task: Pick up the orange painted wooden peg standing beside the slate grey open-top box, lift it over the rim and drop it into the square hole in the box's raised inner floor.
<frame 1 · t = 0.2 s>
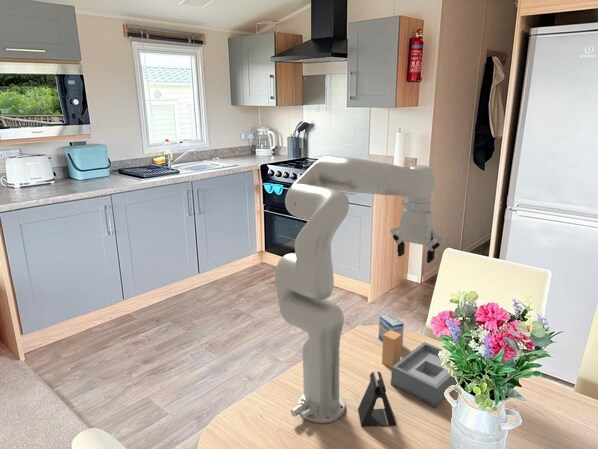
hand: (415, 258, 138), 30 cm above the table, tool pointing down, fingers open, 9 cm apart
black triangular stand: (376, 418, 112), on the table
peg: (391, 363, 135), on the table
medicine box: (390, 342, 147), on the table
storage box: (428, 381, 126), on the table
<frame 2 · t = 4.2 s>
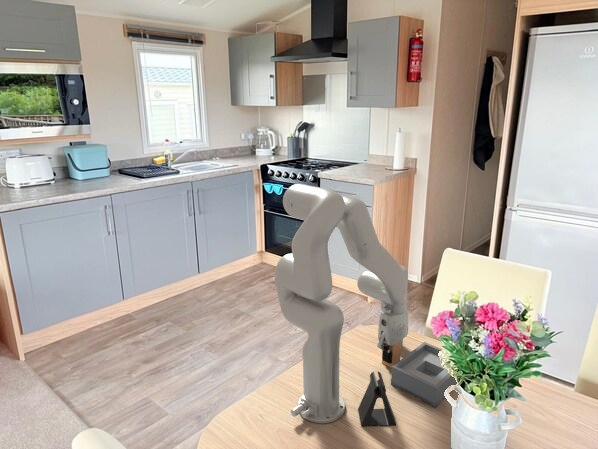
hand: (391, 357, 135), 2 cm above the table, tool pointing down, fingers closed on peg, 4 cm apart
peg: (391, 363, 135), on the table, touching gripper
everything else where it was.
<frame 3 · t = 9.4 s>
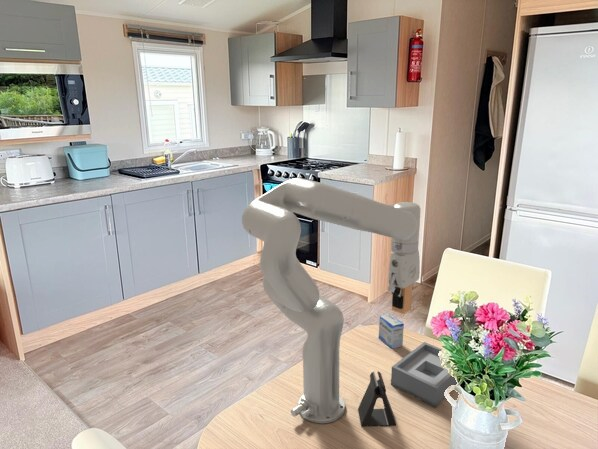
hand: (401, 304, 127), 21 cm above the table, tool pointing down, fingers closed on peg, 4 cm apart
peg: (401, 309, 128), point 19 cm above the table, touching gripper
everything else where it was.
when the fingers open (5 cm above the table, at t = 14.7 s): peg drops 2 cm, resting on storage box.
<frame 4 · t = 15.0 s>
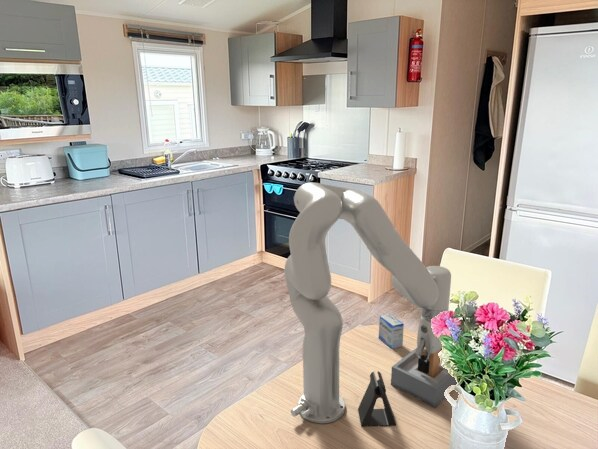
hand: (429, 365, 125), 5 cm above the table, tool pointing down, fingers open, 6 cm apart
peg: (428, 378, 126), point 1 cm above the table, touching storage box
everything else where it was.
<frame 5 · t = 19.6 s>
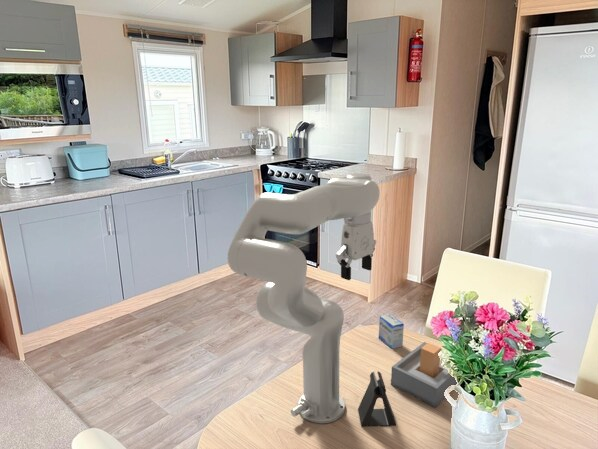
hand: (356, 273, 127), 30 cm above the table, tool pointing down, fingers open, 9 cm apart
nothing on the table moved.
at the end: peg 0.1 cm off-centre on the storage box, point 1.0 cm above the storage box's base; peg tilted 0°; the gripper is holding nothing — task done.
